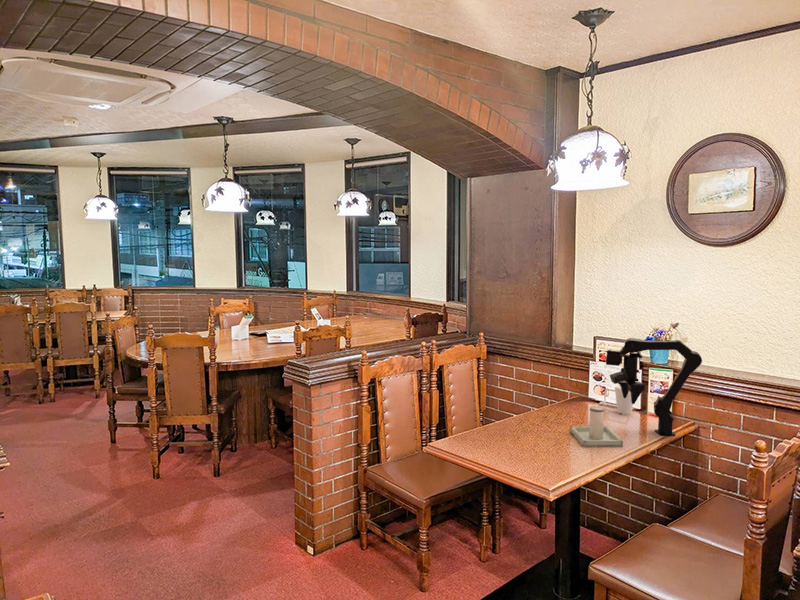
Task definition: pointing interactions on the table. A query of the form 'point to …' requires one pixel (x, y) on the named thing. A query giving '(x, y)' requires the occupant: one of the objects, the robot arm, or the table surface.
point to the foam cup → (623, 401)
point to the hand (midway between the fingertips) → (628, 400)
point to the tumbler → (596, 422)
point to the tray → (583, 437)
